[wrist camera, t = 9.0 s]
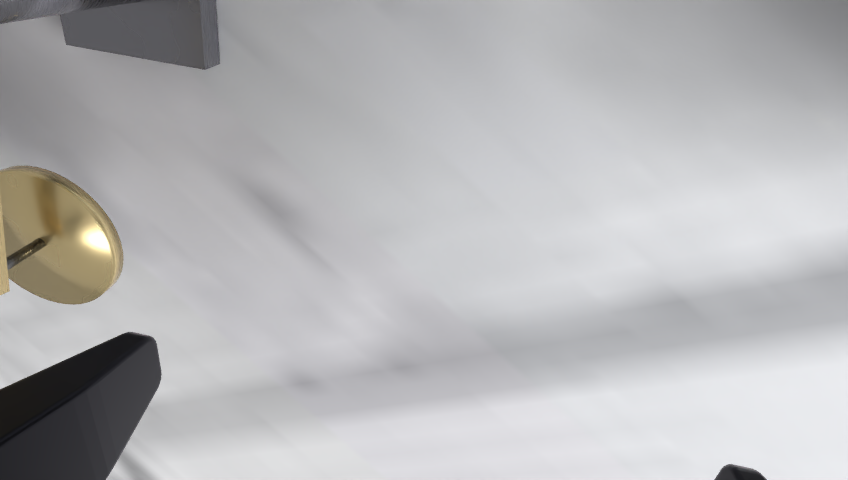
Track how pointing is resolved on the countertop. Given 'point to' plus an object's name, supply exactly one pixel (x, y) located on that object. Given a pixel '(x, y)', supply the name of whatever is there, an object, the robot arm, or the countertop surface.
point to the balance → (57, 196)
